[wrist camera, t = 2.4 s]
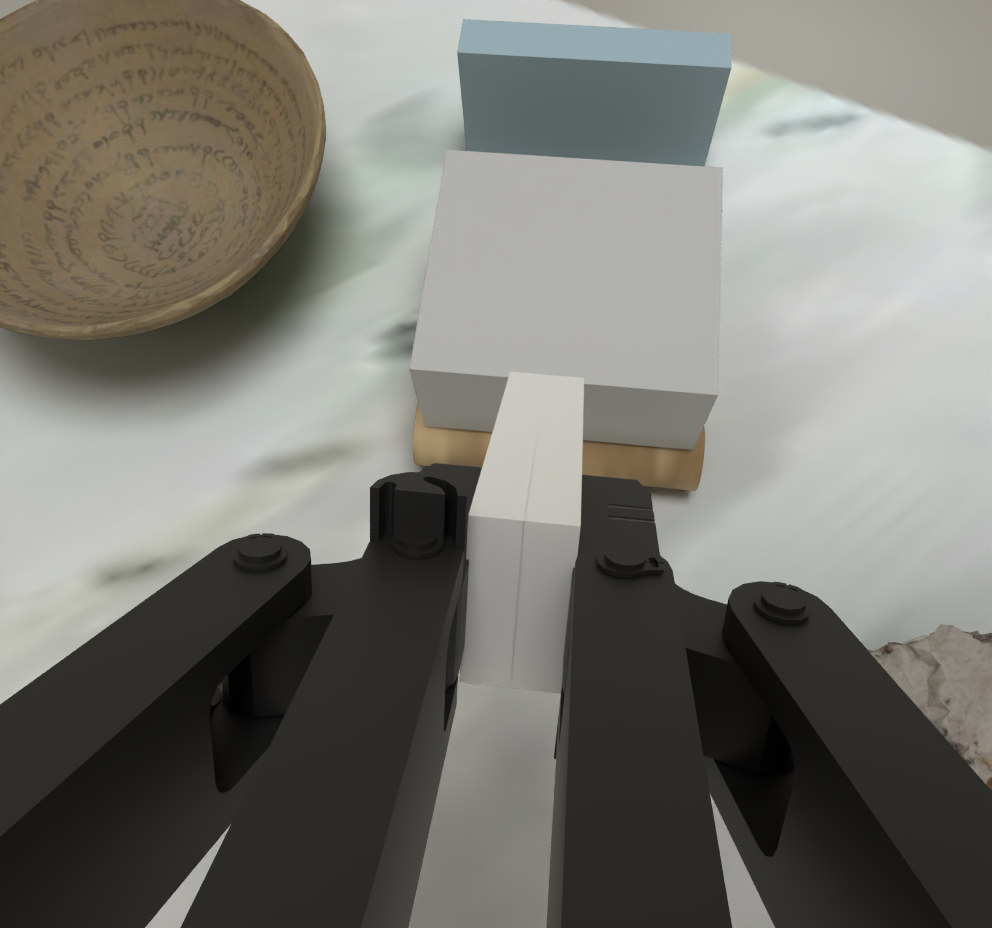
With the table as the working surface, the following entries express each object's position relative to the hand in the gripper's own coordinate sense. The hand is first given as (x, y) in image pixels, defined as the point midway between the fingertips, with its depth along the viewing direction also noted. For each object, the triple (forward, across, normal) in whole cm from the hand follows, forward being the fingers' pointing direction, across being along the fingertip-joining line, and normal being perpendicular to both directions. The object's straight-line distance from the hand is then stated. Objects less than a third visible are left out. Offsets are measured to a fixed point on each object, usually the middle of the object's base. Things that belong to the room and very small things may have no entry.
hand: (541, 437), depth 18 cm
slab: (+20, 0, -3) cm, 20 cm away
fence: (+31, 0, +4) cm, 31 cm away
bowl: (+26, -20, -2) cm, 33 cm away
